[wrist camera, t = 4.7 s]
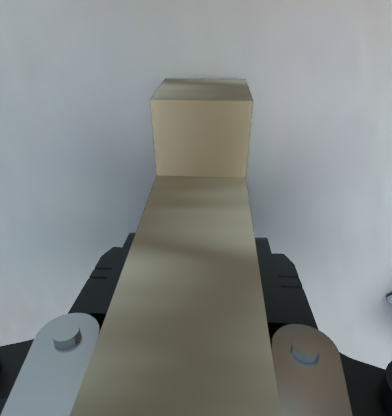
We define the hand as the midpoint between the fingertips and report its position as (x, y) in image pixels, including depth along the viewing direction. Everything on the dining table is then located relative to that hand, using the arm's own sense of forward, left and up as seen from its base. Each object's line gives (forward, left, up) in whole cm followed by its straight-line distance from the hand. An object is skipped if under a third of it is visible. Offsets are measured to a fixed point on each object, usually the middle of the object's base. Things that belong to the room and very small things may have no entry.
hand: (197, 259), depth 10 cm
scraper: (0, +1, -5) cm, 5 cm away
